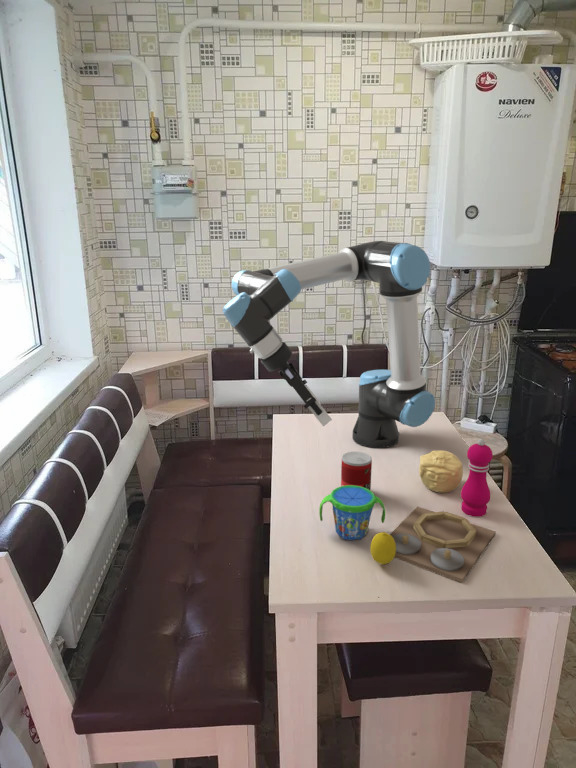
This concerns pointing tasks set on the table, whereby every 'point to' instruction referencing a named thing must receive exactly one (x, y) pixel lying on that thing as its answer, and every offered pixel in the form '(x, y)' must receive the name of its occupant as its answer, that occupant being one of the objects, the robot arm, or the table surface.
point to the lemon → (383, 548)
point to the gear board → (441, 542)
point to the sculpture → (440, 471)
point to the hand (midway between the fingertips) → (321, 414)
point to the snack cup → (352, 510)
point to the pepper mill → (477, 480)
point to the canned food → (356, 469)
